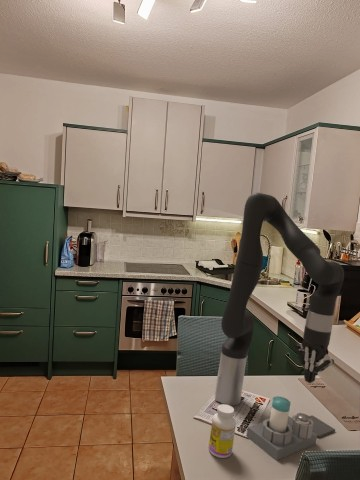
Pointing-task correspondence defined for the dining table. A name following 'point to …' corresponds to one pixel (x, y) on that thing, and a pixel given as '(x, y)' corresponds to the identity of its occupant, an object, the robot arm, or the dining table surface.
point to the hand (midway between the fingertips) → (308, 381)
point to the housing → (282, 437)
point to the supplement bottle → (222, 432)
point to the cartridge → (279, 414)
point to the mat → (321, 427)
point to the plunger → (303, 418)
